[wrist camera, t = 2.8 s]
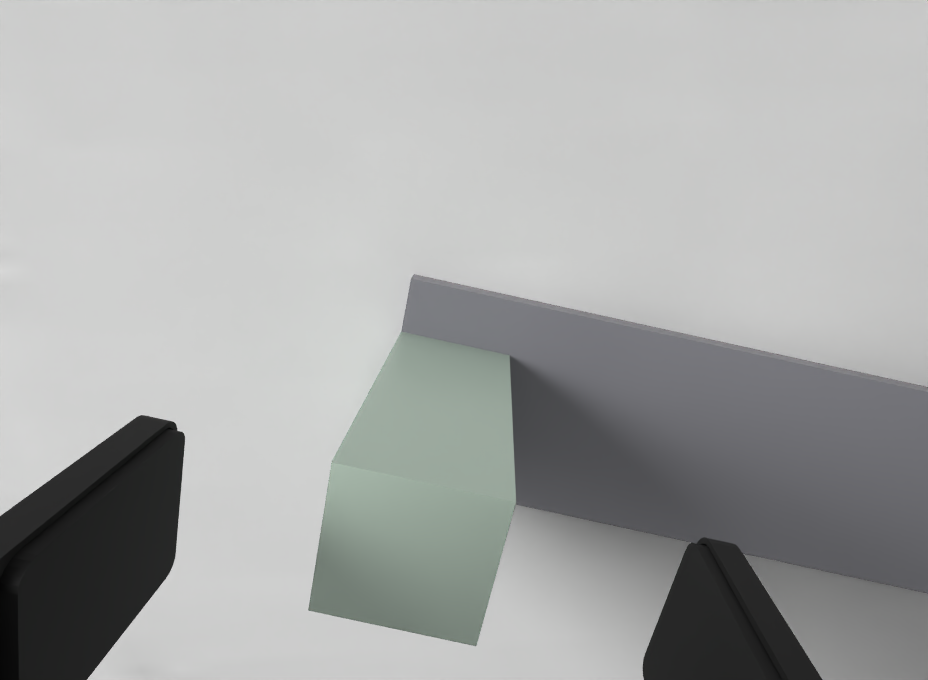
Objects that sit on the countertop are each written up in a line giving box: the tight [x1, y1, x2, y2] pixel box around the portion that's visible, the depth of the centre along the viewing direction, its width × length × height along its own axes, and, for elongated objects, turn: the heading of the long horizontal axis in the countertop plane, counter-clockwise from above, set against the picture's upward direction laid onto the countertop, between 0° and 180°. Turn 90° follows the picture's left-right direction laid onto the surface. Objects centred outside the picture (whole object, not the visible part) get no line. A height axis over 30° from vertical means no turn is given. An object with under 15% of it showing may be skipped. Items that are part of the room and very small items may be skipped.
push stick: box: [308, 275, 928, 646], centre depth 14 cm, size 6×25×8 cm, turn 78°
